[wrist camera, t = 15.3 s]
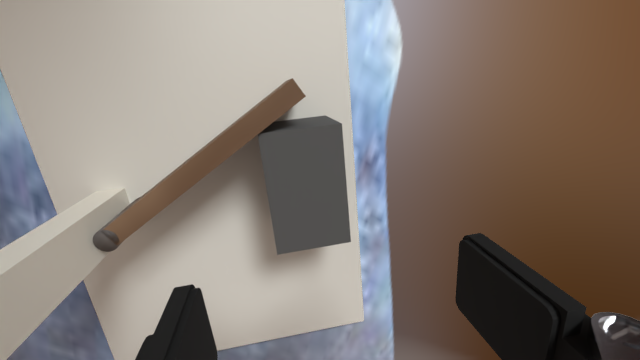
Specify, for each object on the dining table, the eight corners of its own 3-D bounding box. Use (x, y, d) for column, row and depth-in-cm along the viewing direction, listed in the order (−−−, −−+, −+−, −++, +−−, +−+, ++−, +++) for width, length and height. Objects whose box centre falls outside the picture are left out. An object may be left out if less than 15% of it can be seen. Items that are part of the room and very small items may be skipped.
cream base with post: (-19, -13, 19) (-926, -328, 4) (338, -31, 21) (476, -260, 7) (124, 361, 28) (-26, 645, 14) (360, 313, 31) (440, 507, 16)
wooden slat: (128, 204, 23) (86, 240, 17) (285, 79, 22) (291, 76, 17) (143, 217, 23) (106, 256, 18) (297, 95, 22) (307, 97, 17)
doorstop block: (259, 123, 23) (257, 133, 17) (325, 115, 23) (341, 123, 18) (275, 220, 25) (277, 254, 20) (334, 210, 26) (350, 241, 21)
